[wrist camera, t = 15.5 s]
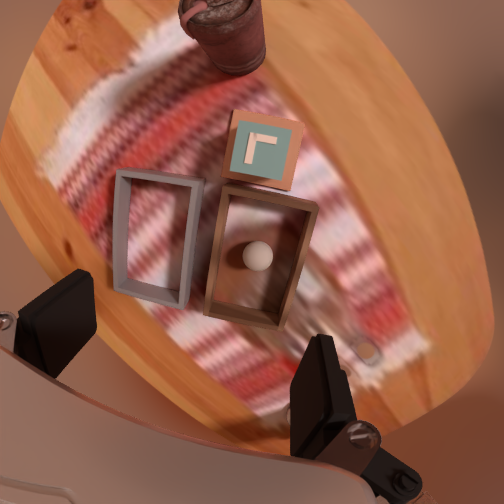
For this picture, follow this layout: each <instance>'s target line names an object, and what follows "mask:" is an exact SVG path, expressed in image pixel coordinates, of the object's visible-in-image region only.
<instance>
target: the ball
mask: <svg viewBox="0 0 504 504" xmlns="http://www.w3.org/2000/svg"><path fill="white" fill-rule="evenodd" d="M272 259H273V253H272V250H271V248H270V247H269V246H268V245H267V244H266V243H264V242H261V241H254V242H251V243H250V244H248V245H247V246H246V247H245V249H244V251H243V261H244V263H245V265H246V266H247V267H248V268H249V269H251V270H253V271H262V270H265V269H266V268H268V267H269V266H270V264H271V262H272Z"/></svg>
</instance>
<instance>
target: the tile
mask: <svg viewBox="0 0 504 504" xmlns="http://www.w3.org/2000/svg"><path fill="white" fill-rule="evenodd" d="M239 120H242V121H248V122H254V123H260V124H265V125H270V126H275V127H280V128H285V129H290V130H292V133H291V138H290V143H289V148H288V152H287V157H286V162H285V167H284V171H283V176H282V181H280V180H275V179H270V178H265V177H260V176H255V175H250V174H245V173H239V172H234V171H230V165H231V160H232V154H233V149H234V144H235V138H236V133H237V128H238V123H239ZM304 126H305V123H302V122H298V121H293V120H289V119H285V118H280V117H275V116H270V115H265V114H260V113H254V112H249V111H243V110H237V109H234V112H233V117H232V122H231V127H230V131H229V136H228V141H227V147H226V152H225V157H224V162H223V168H222V173H221V177H225V178H230V179H235V180H240V181H246V182H250V183H255V184H260V185H265V186H270V187H274V188H279V189H283V190H287V191H290V189H291V185H292V180H293V176H294V172H295V167H296V163H297V158H298V154H299V149H300V145H301V140H302V136H303V131H304Z"/></svg>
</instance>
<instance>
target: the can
mask: <svg viewBox="0 0 504 504" xmlns="http://www.w3.org/2000/svg"><path fill="white" fill-rule="evenodd" d="M178 14H179V19H180V25H181V27H182V28H183V30H184V31H185V33H186V34H187V35H188V36H190V37H191V38H192V39H196V40H197V42H198V43H199V44H200V46H201V47H202V48H203V49H204V51H205V52H206V53H207V55H208V56H209V57H210V59H211V60H212V61H213V63H214V64H215V65H216V67H217V68H218V69H220V70H221V71H222V72H224V73H227V74H230V75H244V74H248V73H250V72H252V71H254V70H256V69H257V68H258V67H259V66H260V65H261V64H262V62H263V60H264V58H265V53H266V47H265V37H264V27H263V17H262V8H261V0H180V2H179V8H178Z"/></svg>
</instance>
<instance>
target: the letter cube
mask: <svg viewBox="0 0 504 504" xmlns="http://www.w3.org/2000/svg"><path fill="white" fill-rule="evenodd" d="M291 133H292V130H290V129H285V128H280V127H275V126H270V125H265V124H260V123H254V122H248V121H242V120H239V123H238V128H237V133H236V138H235V144H234V149H233V154H232V160H231V165H230V171H234V172H239V173H245V174H250V175H255V176H260V177H265V178H270V179H275V180H280V181H282V176H283V171H284V167H285V162H286V157H287V152H288V148H289V143H290V138H291Z"/></svg>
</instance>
